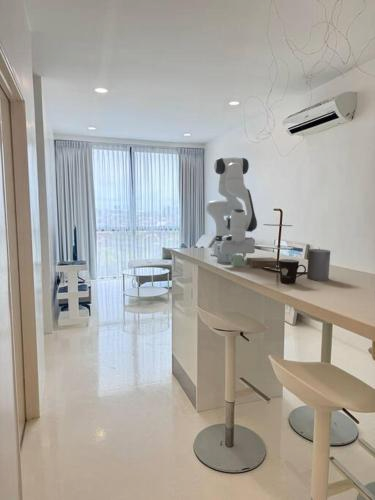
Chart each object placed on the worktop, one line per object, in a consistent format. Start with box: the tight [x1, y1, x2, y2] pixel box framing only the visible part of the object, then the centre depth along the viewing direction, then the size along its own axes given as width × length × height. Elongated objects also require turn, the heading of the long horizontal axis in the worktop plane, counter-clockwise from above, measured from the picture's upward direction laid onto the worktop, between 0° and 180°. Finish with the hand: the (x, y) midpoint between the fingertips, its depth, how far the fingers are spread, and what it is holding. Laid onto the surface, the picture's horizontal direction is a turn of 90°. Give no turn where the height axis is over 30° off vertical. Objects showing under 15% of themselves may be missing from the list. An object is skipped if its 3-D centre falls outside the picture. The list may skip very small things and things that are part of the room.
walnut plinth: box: [245, 257, 279, 269], centre depth 197 cm, size 14×16×4 cm
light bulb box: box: [216, 244, 234, 264], centre depth 212 cm, size 11×7×11 cm, turn 84°
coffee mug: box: [278, 258, 307, 285], centre depth 150 cm, size 12×9×10 cm
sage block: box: [231, 254, 243, 267], centre depth 198 cm, size 5×5×6 cm
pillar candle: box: [306, 247, 331, 282], centre depth 161 cm, size 10×10×15 cm
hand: (236, 261), depth 198 cm, fingers closed on sage block, 5 cm apart
